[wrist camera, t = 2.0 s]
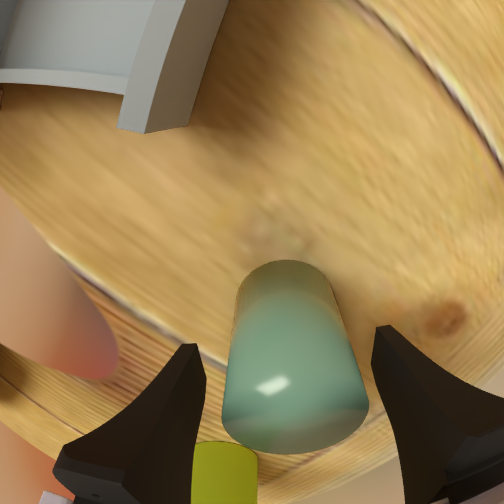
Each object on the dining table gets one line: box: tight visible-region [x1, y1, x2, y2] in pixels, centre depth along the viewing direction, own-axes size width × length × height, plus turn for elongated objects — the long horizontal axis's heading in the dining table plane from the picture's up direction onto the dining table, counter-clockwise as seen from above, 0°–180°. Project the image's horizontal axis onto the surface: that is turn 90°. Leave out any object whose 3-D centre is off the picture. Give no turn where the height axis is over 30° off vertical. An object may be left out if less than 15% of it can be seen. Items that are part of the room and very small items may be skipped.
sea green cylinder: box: [222, 260, 369, 455], centre depth 12 cm, size 5×5×7 cm
